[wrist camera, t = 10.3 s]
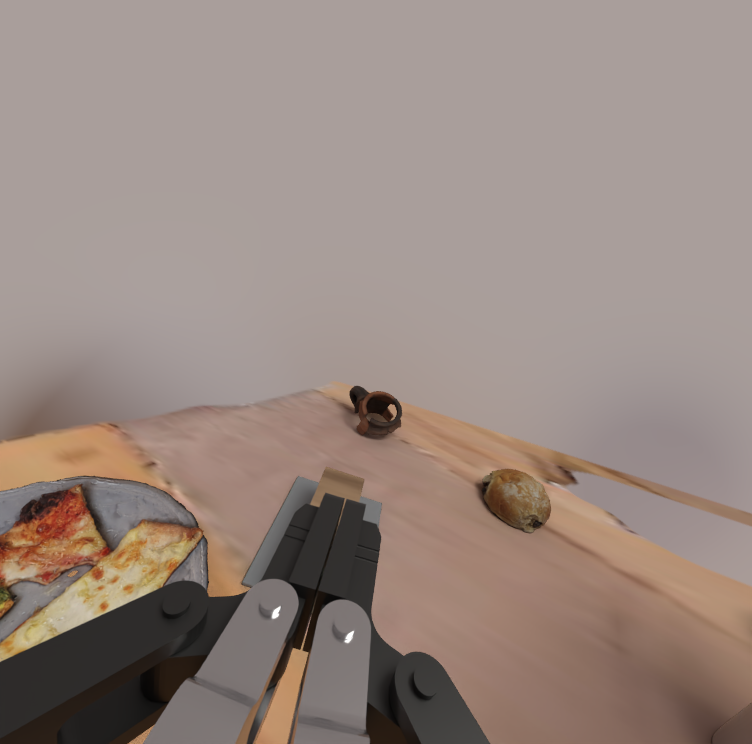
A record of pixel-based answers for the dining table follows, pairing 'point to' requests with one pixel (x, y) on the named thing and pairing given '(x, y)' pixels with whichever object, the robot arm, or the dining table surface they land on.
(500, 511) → the bread roll
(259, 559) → the rubber mat
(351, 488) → the walnut block
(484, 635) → the dining table surface
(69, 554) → the food plate
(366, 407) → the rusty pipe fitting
